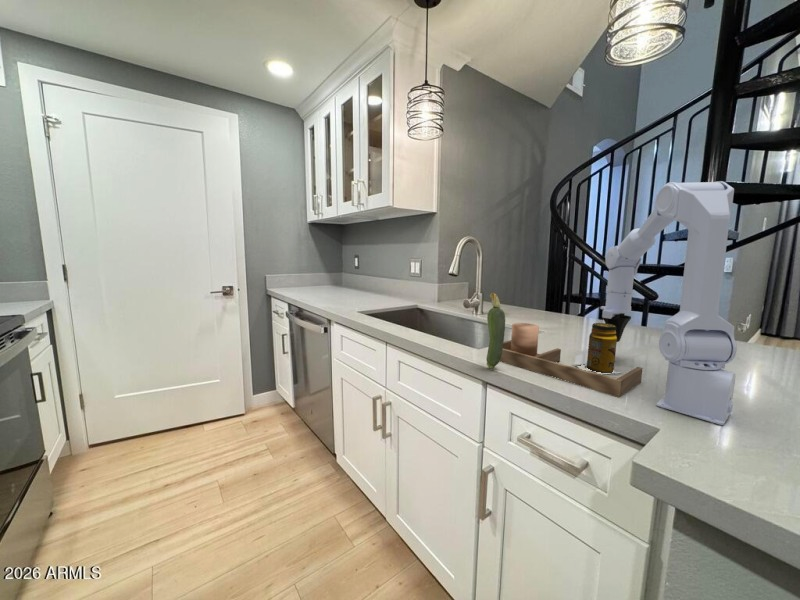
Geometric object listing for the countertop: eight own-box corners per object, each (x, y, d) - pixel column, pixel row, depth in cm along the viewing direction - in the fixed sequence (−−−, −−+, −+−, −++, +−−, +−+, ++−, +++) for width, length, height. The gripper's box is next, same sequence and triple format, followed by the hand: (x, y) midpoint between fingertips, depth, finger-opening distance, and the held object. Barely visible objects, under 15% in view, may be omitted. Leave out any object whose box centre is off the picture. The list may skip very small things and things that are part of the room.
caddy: (640, 382, 76) (645, 341, 75) (618, 397, 68) (623, 351, 67) (515, 349, 102) (517, 318, 101) (488, 357, 94) (489, 324, 92)
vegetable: (500, 367, 86) (504, 291, 83) (504, 372, 82) (508, 293, 79) (483, 366, 86) (487, 291, 84) (486, 372, 82) (490, 293, 79)
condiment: (622, 374, 82) (627, 327, 80) (591, 375, 80) (595, 328, 79) (600, 364, 89) (604, 321, 87) (572, 365, 88) (575, 322, 86)
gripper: (613, 289, 96) (608, 334, 98) (591, 292, 87) (587, 342, 89) (641, 291, 90) (636, 339, 92) (622, 295, 82) (616, 347, 83)
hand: (614, 341), depth 90 cm, fingers closed
